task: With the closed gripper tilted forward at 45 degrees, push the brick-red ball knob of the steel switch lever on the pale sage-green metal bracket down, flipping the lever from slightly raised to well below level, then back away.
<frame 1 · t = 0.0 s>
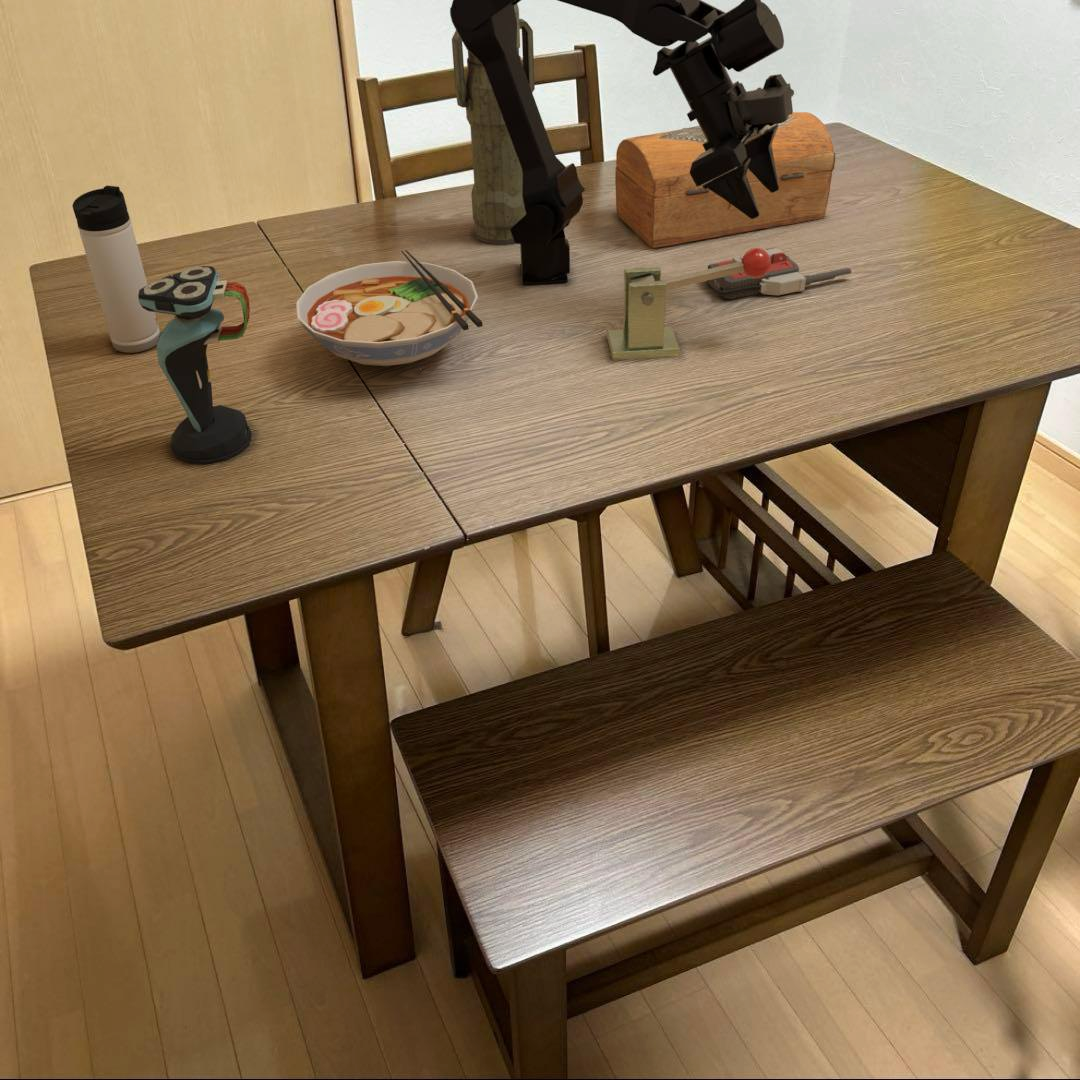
hand: (766, 203, 142), 15 cm above the table, tool tilted 35°, fingers open, 9 cm apart
switch lever: (701, 276, 139), point 9 cm above the table, hinge at 11.0°
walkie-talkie: (774, 284, 158), on the table
wooden box: (718, 216, 178), on the table
ramen bowl: (393, 352, 146), on the table
electric shaver: (223, 442, 130), on the table
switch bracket: (642, 347, 144), on the table
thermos: (503, 234, 175), on the table
travel mug: (138, 343, 150), on the table
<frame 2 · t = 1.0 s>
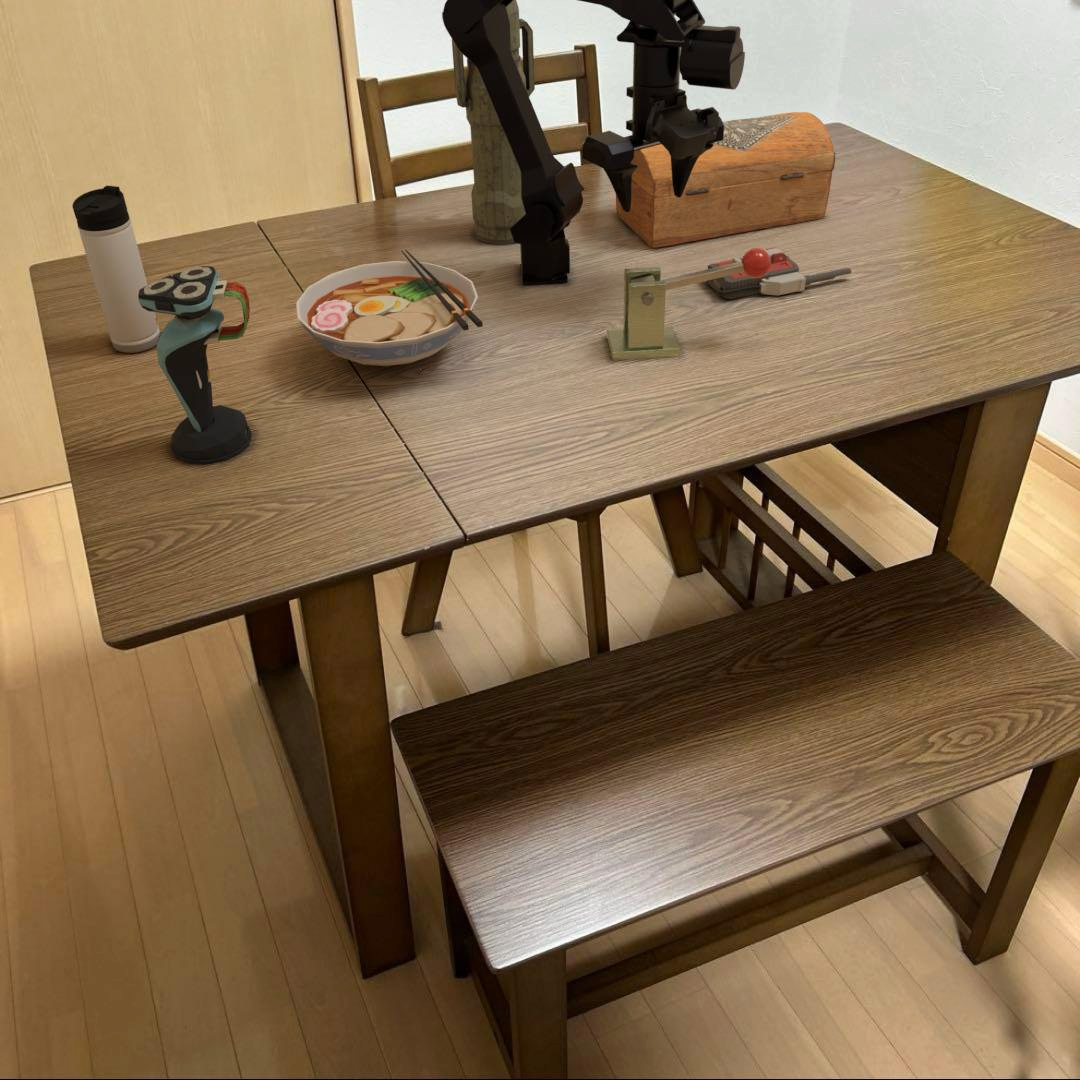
hand: (652, 203, 148), 13 cm above the table, tool pointing down, fingers open, 8 cm apart
nothing on the table moved.
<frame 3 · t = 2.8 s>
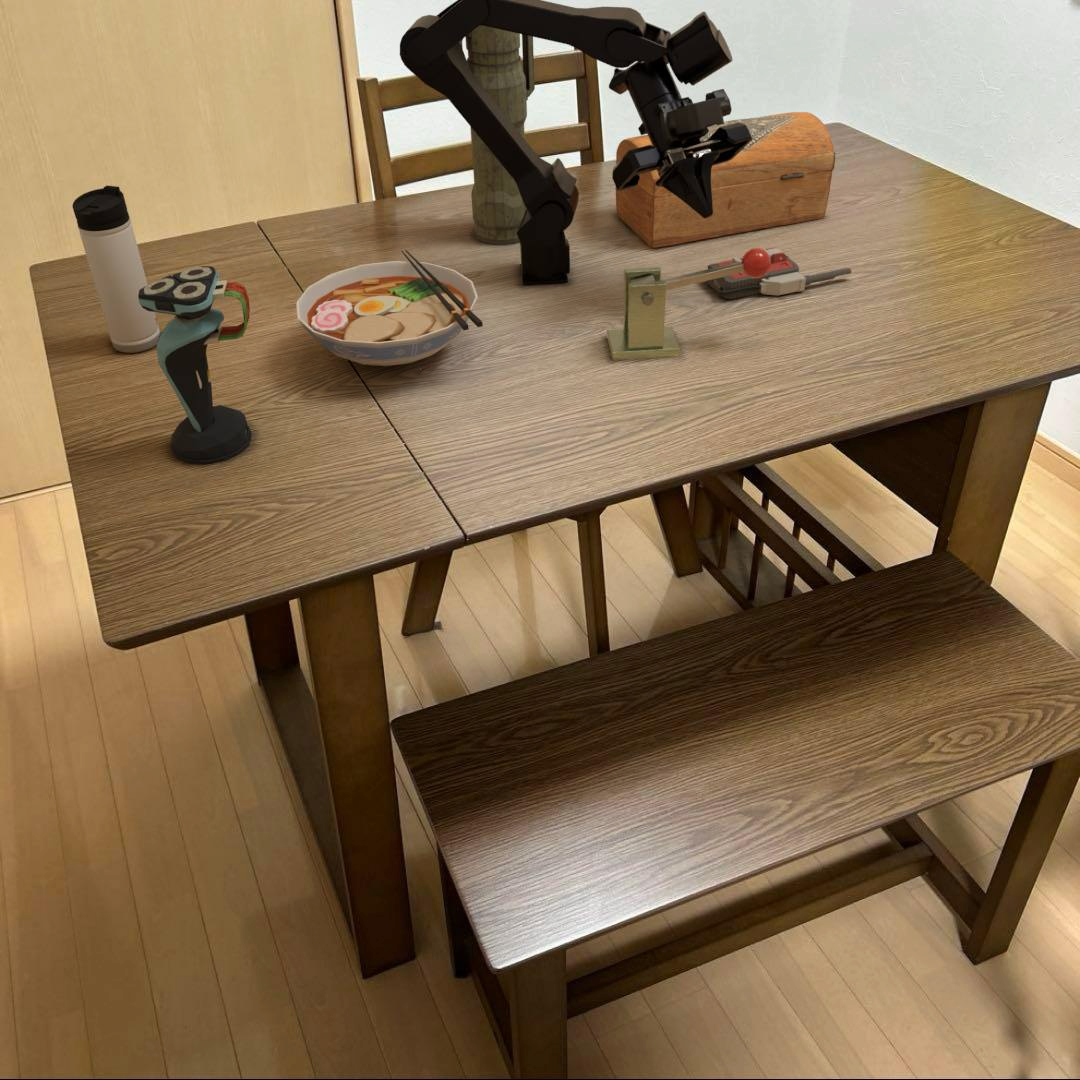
hand: (708, 216, 143), 14 cm above the table, tool tilted 45°, fingers closed
nothing on the table moved.
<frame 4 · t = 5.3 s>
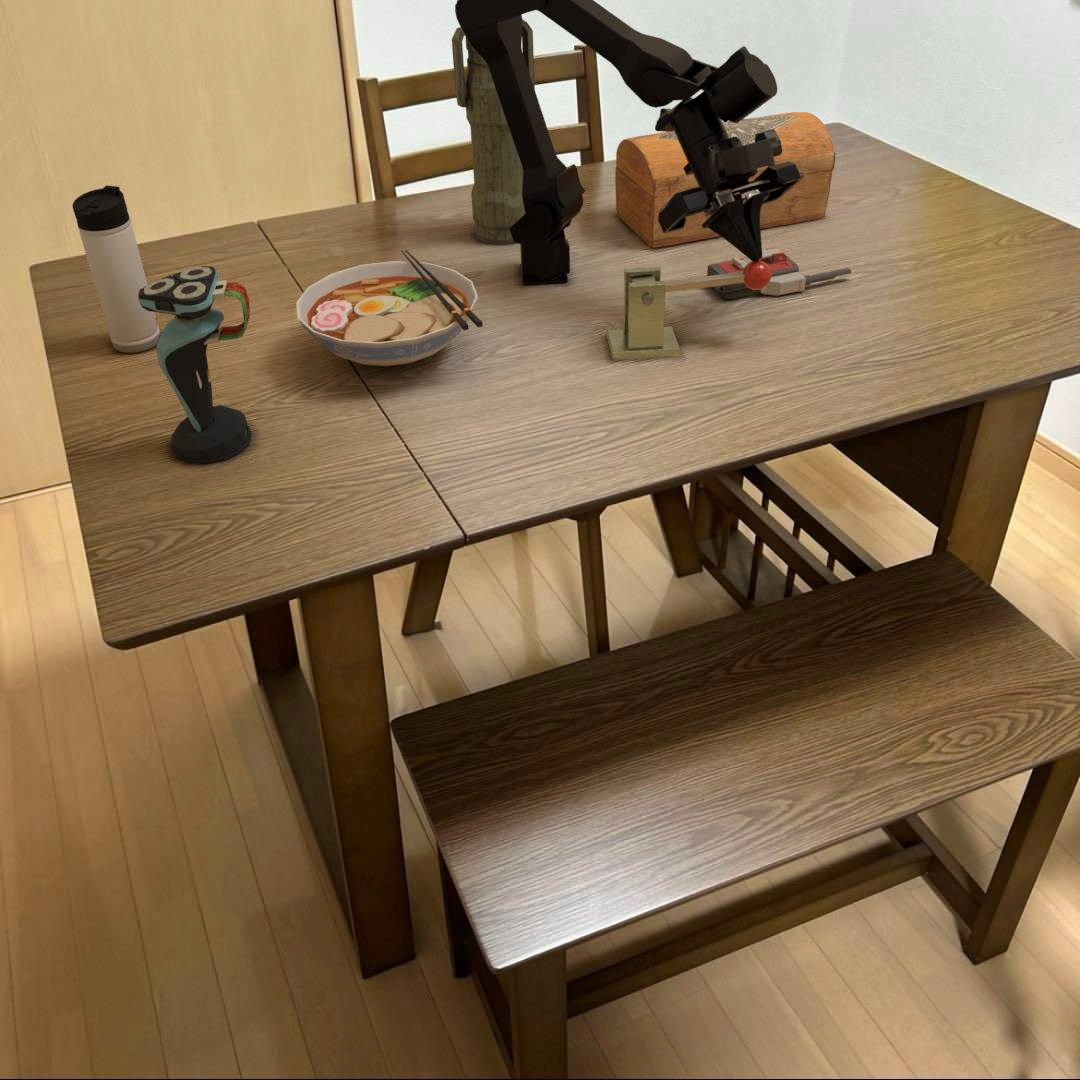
hand: (757, 259, 138), 11 cm above the table, tool tilted 45°, fingers closed, pressing on switch lever
switch lever: (702, 282, 139), point 9 cm above the table, hinge at 4.4°, touching gripper
everything else where it was.
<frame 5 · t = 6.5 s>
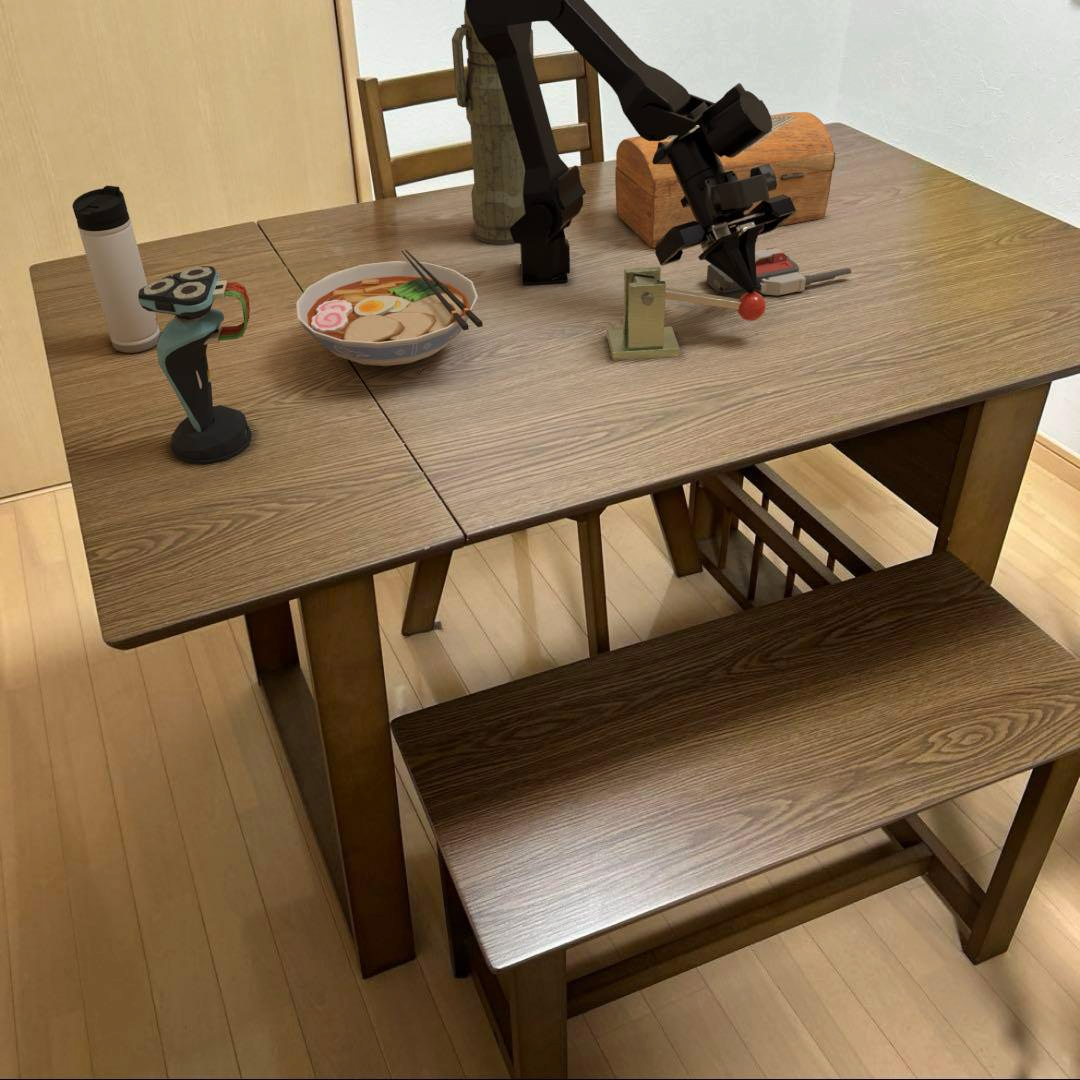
hand: (753, 291, 141), 7 cm above the table, tool tilted 45°, fingers closed, pressing on switch lever
switch lever: (699, 298, 141), point 6 cm above the table, hinge at -12.9°, touching gripper
everything else where it was.
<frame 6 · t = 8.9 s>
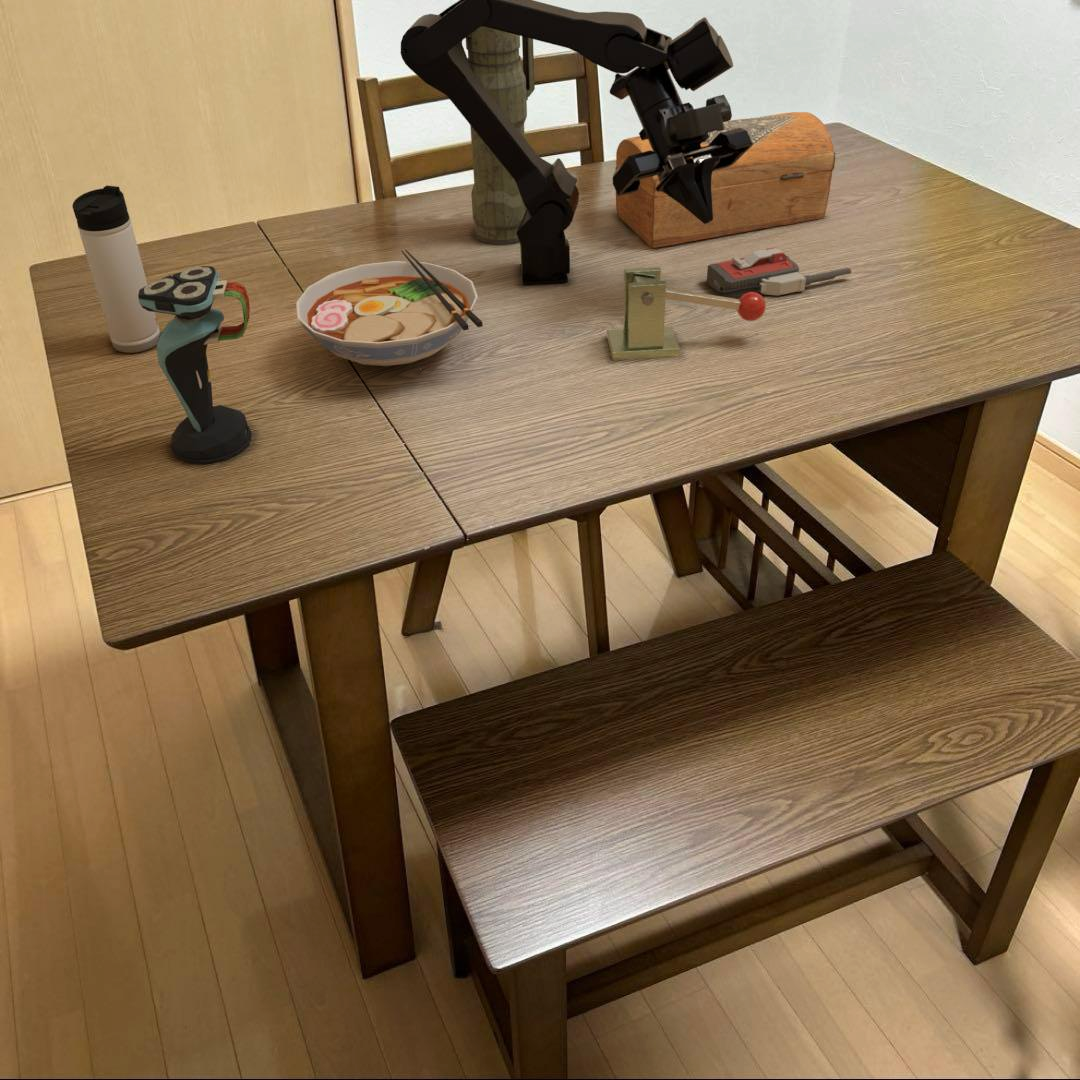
hand: (709, 222, 143), 13 cm above the table, tool tilted 45°, fingers closed
switch lever: (699, 298, 141), point 6 cm above the table, hinge at -13.0°
everything else where it was.
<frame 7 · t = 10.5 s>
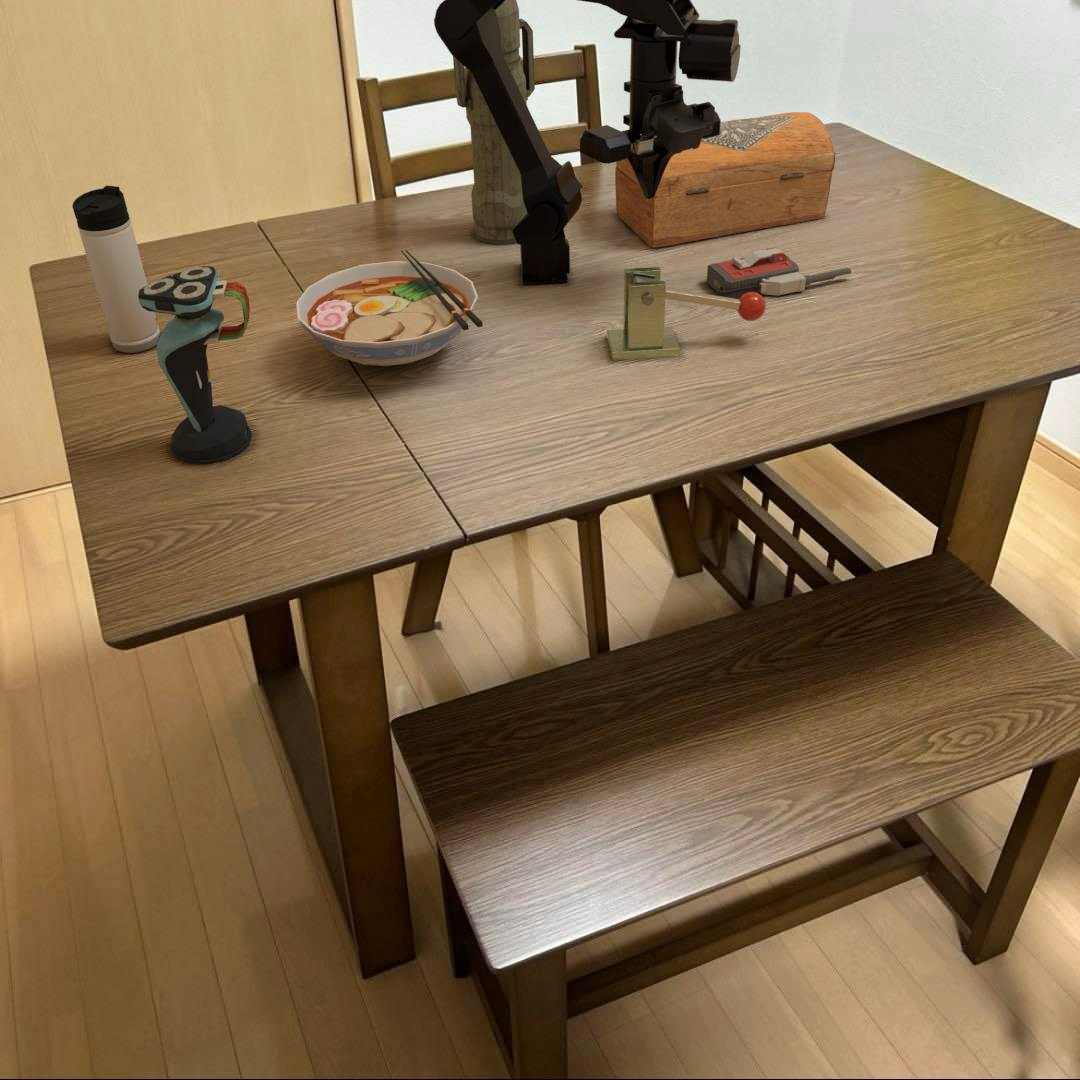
hand: (649, 197, 150), 13 cm above the table, tool pointing down, fingers closed
nothing on the table moved.
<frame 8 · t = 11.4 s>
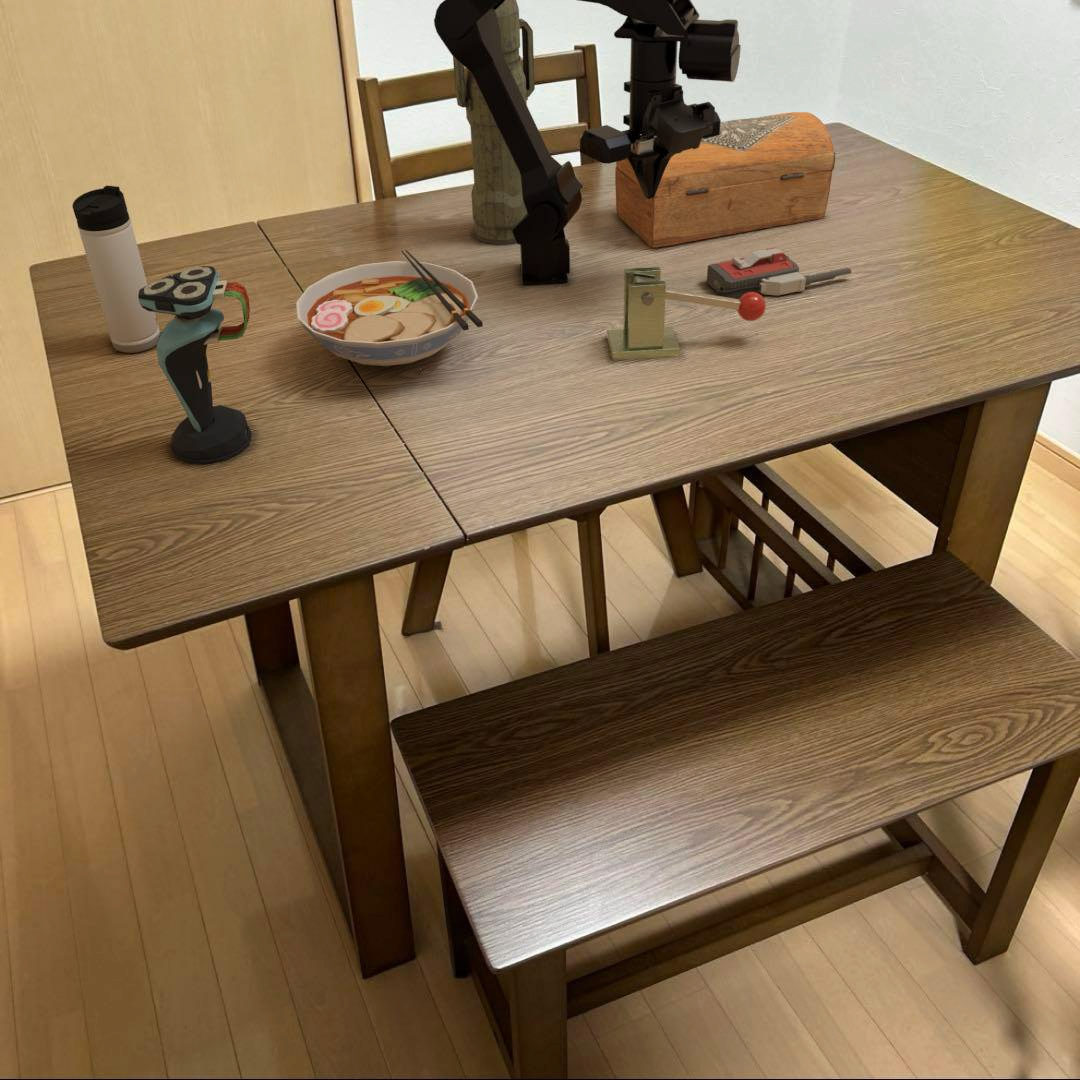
hand: (649, 197, 150), 13 cm above the table, tool pointing down, fingers closed
nothing on the table moved.
at the end: switch lever at -13° (first picture: +11°); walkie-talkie moved 0.2 cm from its start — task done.
